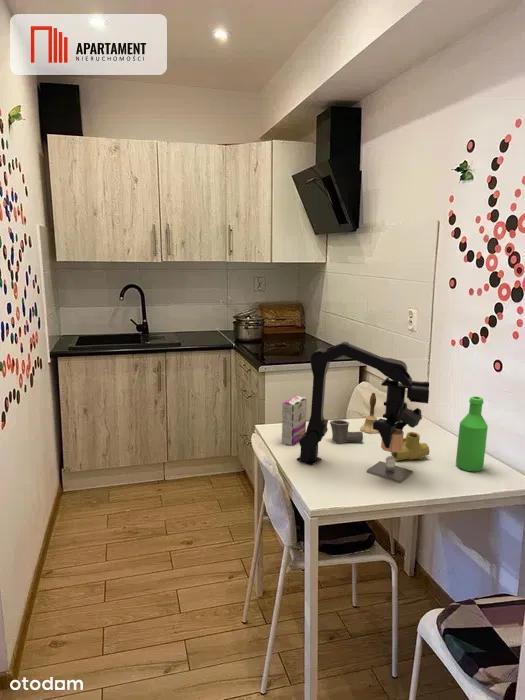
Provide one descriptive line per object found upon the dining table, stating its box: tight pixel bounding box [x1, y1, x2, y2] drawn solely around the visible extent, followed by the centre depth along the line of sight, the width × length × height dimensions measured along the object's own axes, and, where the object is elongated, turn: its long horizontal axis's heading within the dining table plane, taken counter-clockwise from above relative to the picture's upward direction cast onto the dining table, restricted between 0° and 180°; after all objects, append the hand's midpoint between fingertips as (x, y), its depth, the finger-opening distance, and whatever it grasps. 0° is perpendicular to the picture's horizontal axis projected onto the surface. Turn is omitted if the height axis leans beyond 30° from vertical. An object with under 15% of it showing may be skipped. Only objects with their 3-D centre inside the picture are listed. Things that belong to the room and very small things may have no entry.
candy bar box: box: [281, 395, 307, 447], centre depth 197 cm, size 11×5×16 cm, turn 148°
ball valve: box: [390, 431, 430, 462], centre depth 185 cm, size 13×10×10 cm
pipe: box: [329, 419, 364, 444], centre depth 198 cm, size 6×13×8 cm, turn 89°
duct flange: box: [366, 455, 414, 484], centre depth 172 cm, size 10×12×6 cm
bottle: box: [455, 396, 489, 472], centre depth 176 cm, size 9×9×25 cm
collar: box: [380, 428, 405, 453], centre depth 170 cm, size 6×6×7 cm
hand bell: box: [359, 392, 380, 434], centre depth 211 cm, size 8×8×16 cm
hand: (391, 445), depth 170 cm, fingers closed on collar, 6 cm apart
